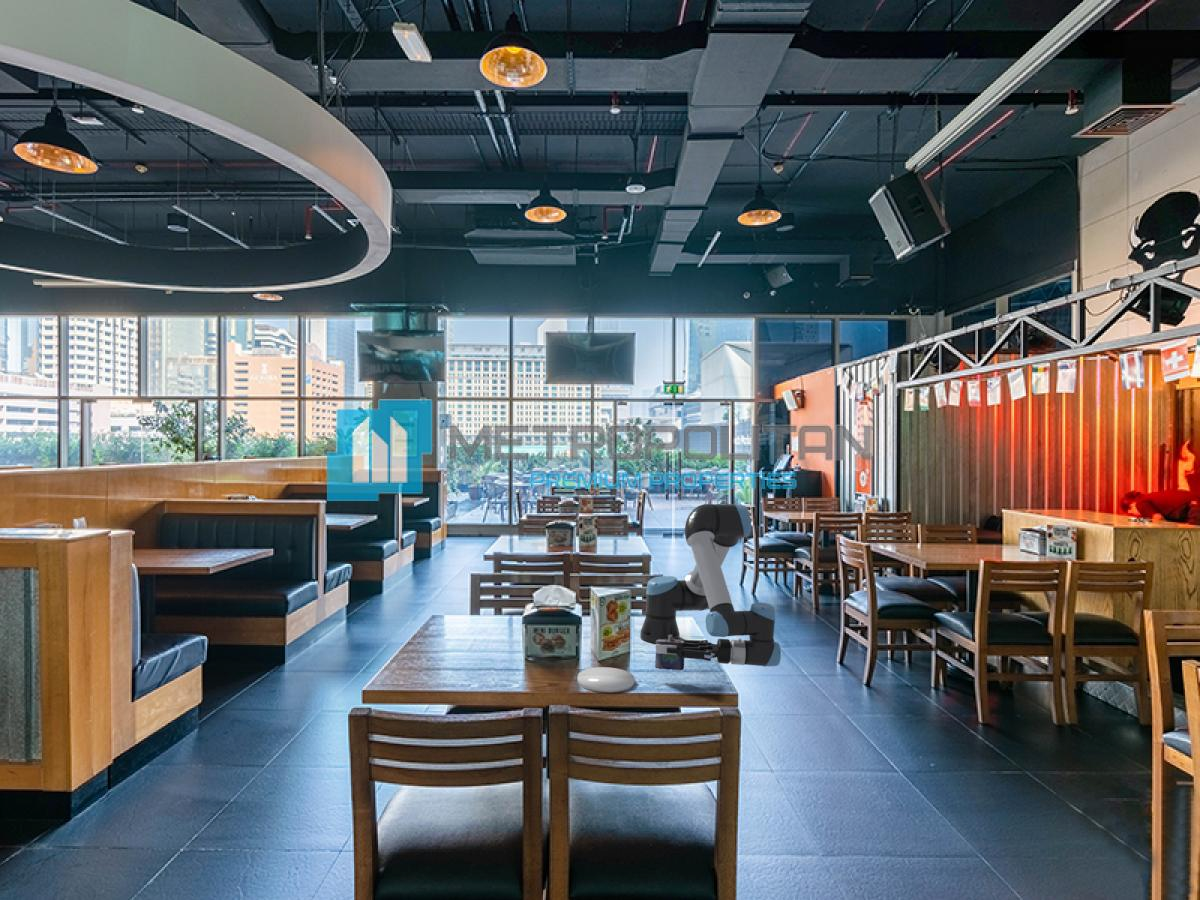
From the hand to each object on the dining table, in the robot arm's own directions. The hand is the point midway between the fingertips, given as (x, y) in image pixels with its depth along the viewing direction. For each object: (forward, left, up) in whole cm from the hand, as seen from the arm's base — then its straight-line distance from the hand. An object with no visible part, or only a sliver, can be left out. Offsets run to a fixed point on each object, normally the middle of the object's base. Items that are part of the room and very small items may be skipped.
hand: (656, 646), depth 221 cm
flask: (0, +4, -7) cm, 8 cm away
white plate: (+4, -16, -11) cm, 19 cm away
